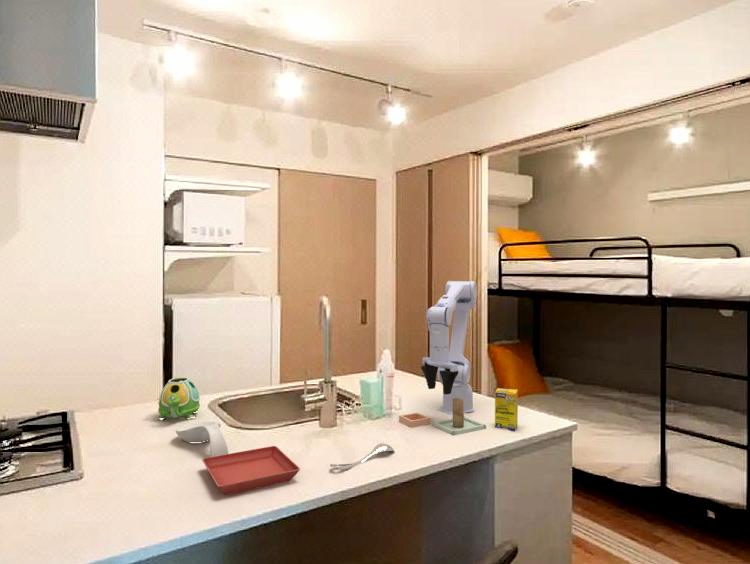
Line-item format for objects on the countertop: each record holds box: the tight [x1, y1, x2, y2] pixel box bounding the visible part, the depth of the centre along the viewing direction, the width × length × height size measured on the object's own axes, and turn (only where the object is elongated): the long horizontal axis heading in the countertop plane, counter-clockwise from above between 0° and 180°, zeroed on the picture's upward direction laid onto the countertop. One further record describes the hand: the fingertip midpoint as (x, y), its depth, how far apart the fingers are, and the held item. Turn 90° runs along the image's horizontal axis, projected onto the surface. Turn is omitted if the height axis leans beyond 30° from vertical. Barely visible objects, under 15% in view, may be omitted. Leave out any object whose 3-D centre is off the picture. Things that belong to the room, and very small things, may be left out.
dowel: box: [452, 398, 465, 428], centre depth 149 cm, size 3×3×8 cm
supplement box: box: [494, 387, 519, 432], centre depth 151 cm, size 6×6×11 cm
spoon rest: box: [175, 421, 230, 457], centre depth 136 cm, size 24×12×7 cm, turn 37°
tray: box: [432, 416, 487, 436], centre depth 149 cm, size 12×10×1 cm
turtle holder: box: [157, 377, 201, 419], centre depth 160 cm, size 12×18×12 cm
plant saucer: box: [201, 445, 301, 495], centre depth 116 cm, size 18×18×3 cm
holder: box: [398, 412, 431, 428], centre depth 154 cm, size 7×7×2 cm
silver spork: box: [329, 442, 395, 470], centre depth 124 cm, size 20×4×5 cm
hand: (439, 391), depth 153 cm, fingers open, 7 cm apart
